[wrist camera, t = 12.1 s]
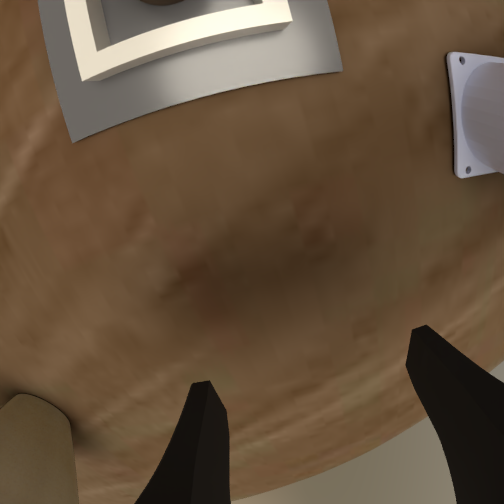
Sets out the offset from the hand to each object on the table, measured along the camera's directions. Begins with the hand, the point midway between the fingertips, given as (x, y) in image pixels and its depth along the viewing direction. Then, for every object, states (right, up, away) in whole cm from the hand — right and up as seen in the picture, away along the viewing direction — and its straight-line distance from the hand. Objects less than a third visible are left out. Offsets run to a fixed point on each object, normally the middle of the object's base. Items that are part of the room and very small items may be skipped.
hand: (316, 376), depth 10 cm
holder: (-6, +18, 0) cm, 19 cm away
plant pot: (-26, -14, +16) cm, 34 cm away
